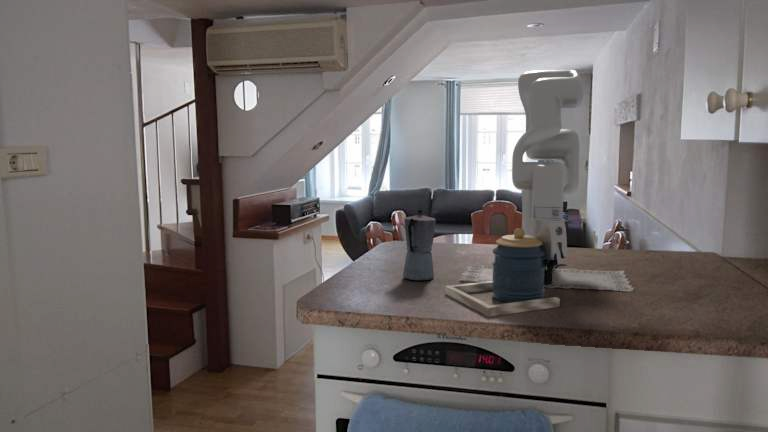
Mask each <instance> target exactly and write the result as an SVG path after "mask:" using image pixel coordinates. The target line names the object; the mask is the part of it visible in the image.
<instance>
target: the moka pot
mask: <svg viewBox="0 0 768 432" xmlns="http://www.w3.org/2000/svg"><path fill="white" fill-rule="evenodd" d="M423 212H424V210H423V209H417V215H412V216H411V215H410V216H407V217H404V229H405V231H404V233H405V240H406V241H405V242H406V251H407V252H406V255H405V262H404V268H403V273H402V277H403V278H404V279H406V280H411V281H430V280H433V279H434V278H435V271H434V262H433V254H432V249H433V244H434V237H435V231H436V222H437V220H436V218H434V217H430V216H428V215H427V216H426V215H423Z"/></svg>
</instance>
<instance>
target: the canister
mask: <svg viewBox="0 0 768 432" xmlns="http://www.w3.org/2000/svg"><path fill="white" fill-rule="evenodd" d="M495 243H496V247H494V248H493V249H492V251H491V252H492V254H494V255H493V256H494V258H493V259H494V260H493V261H492V263H491V264H492V281H493V285H492V290H491V292H492V297H493V298H494V299H496V300H497V301H500V302H504V303H513V302H521V301H528V300H536V299H544V297H545V293H546V292H545V291H546V288H545V285H544V274H545V264H544V261H543V256H544V255H545V254H546V252H545V251H544V250H543V249H542V248H541V245H542V244H543V243H542V242H541V241H540V240H538V239H537V238H536V237H534V236H529V235H525V232H524V230H523V229H522V227H517V228H515V229H514V231H513V234H506V235H503V236H501V237H500V238H498V239H496V241H495Z"/></svg>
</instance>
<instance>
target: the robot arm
mask: <svg viewBox="0 0 768 432" xmlns="http://www.w3.org/2000/svg"><path fill="white" fill-rule="evenodd" d="M517 88H518V94H519V99H520V101H521V104H522V106H523V110H524V113H525V132H524V133H523V134H522V135H521V136H520V138H519V139H518V141H517V142H516V144H515V146H514V149H513V152H512V158H511V160H512V163H511V164H512V165H511V180H512V184H513V186H514V188H515V189H517V190H519V191H520V192H521V198H522V199H521V205H522V206H521V209H522V211H521V212H522V213H521V228H522V229H523V230H524V232H525V235H529V236H534V237H536V238H537V239H538V240H540V241H541V242H542V243H543V244H542V245H541V248H542V249H543V250H544V251H545V252H546V254H545V255H544V256H543V261H544V264H545V274H544V286H548V285H549V286H550V285H552V284H553V273H554V272H553V270H555V267H556V266H559V265H562V263H563V262H562V260H563V259H566V258H567V252H568V243H567V239H568V237H567V229H566V223H565V220H564V219H563V217H564V215H563V214H564V196H573V195H575V194H576V193H577V192H578V190H579V183H580V137H579V134H578V132H577V131H576V130H574V129H570V128H562V109H573V108H579V107H580V106H581V104H582V103H583V102H584V101H583V99H584V94H585V93H584V90H585V89H584V83H583V81H582V78H581V76H580V74H579V72H578V71H577V70H575V69H554V70H553V69H543V70H542V69H541V70H531V71H529V70H528V71H525V72H523V73H522V74H520V75H519V77H518V82H517ZM524 154H526V156H527V158H528V159H530V160H534V161H524ZM558 161H559V162H558ZM560 161H561V162H560Z"/></svg>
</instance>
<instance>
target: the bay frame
mask: <svg viewBox="0 0 768 432" xmlns="http://www.w3.org/2000/svg"><path fill="white" fill-rule="evenodd" d="M492 285H493V280H489V281H487V280H486V281H480V282H472V283H471V282H470V283H461V284H459V283H458V284H453V285H452V284H451V285H445V287H444V289H445V292H444V294H445V295H447V296H448V297H451V298H452V299H454V300H456V301H458V302H460V303H462V304H464V305H465V306H467V307H469V308H471V309H473V310H474V311H477V312H479V313H480V314H482V315H484V316H486V317H495V316H501V315H508V314H516V313H524V312H531V311H538V310H544V309H545V310H546V309H553V308H560V301H561V299H560V297H557V296H554V297H545V298H543V299H536V300H528V301H521V302H513V303H509V302H504V303H499V304H492V305H491V304H490V303H489V304H488V303H486V302H485V301H482V300H480V299H478V298H477V297H474V296H472V295H470V294H469V293H477V292H486V291H492Z"/></svg>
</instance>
